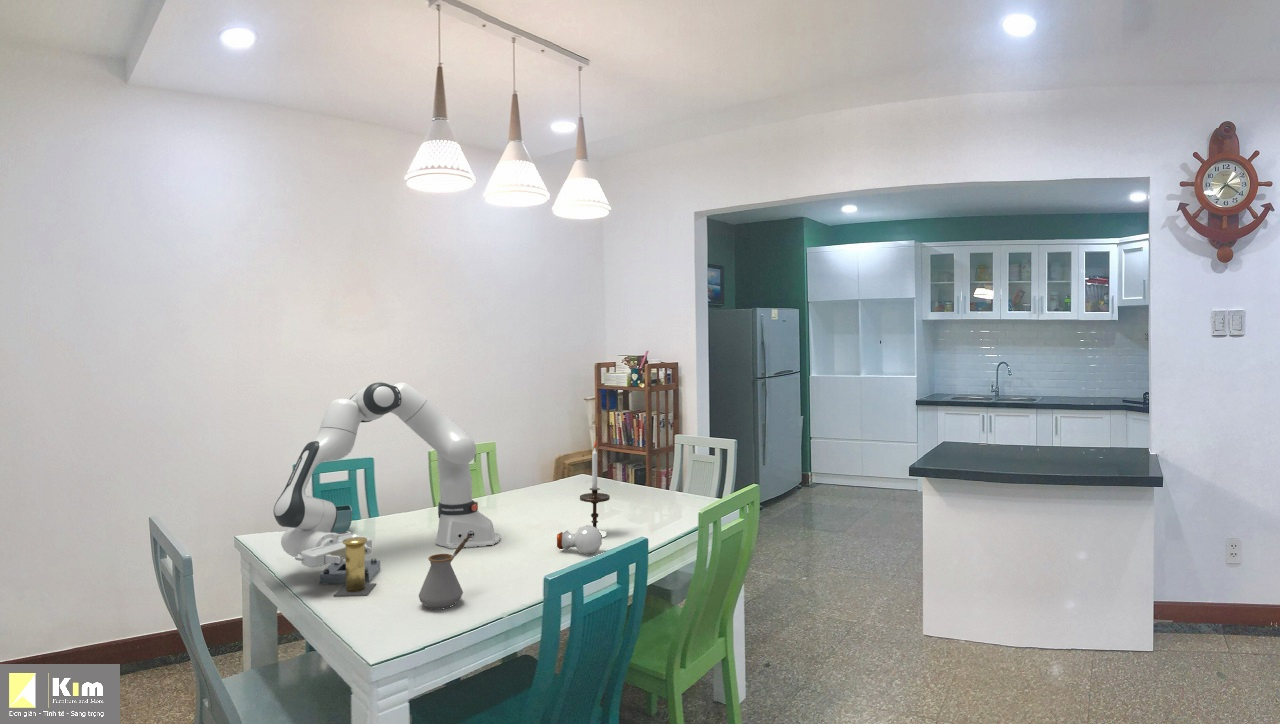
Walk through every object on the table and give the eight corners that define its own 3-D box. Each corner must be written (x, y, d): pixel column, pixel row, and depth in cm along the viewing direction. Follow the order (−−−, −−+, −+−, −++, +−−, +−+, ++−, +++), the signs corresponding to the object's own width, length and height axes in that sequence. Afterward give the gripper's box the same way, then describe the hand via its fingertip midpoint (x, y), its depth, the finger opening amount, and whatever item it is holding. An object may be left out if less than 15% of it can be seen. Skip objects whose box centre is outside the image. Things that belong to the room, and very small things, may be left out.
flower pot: (326, 537, 257) (326, 512, 256) (325, 531, 264) (324, 507, 264) (352, 534, 261) (352, 509, 260) (350, 528, 269) (350, 504, 268)
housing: (380, 569, 220) (380, 557, 220) (368, 583, 208) (368, 570, 208) (333, 571, 219) (333, 558, 219) (319, 584, 207) (319, 571, 207)
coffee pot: (447, 614, 185) (447, 557, 184) (409, 609, 188) (409, 553, 187) (488, 587, 205) (488, 535, 205) (453, 583, 208) (453, 532, 208)
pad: (376, 584, 207) (376, 583, 207) (367, 595, 198) (367, 594, 198) (344, 585, 206) (344, 584, 206) (333, 596, 197) (333, 595, 197)
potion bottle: (602, 560, 235) (560, 561, 240) (608, 536, 243) (568, 538, 247) (594, 542, 230) (551, 543, 234) (600, 518, 237) (559, 520, 242)
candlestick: (600, 529, 267) (600, 437, 266) (615, 536, 258) (615, 440, 257) (574, 534, 261) (574, 439, 260) (588, 541, 252) (589, 442, 251)
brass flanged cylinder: (370, 584, 206) (369, 536, 205) (363, 592, 199) (363, 543, 199) (347, 585, 205) (347, 537, 205) (340, 593, 199) (339, 543, 198)
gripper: (291, 546, 199) (323, 554, 193) (353, 529, 217) (384, 536, 210) (291, 568, 200) (323, 577, 193) (353, 550, 217) (384, 557, 210)
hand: (355, 555), depth 202 cm, fingers open, 8 cm apart
